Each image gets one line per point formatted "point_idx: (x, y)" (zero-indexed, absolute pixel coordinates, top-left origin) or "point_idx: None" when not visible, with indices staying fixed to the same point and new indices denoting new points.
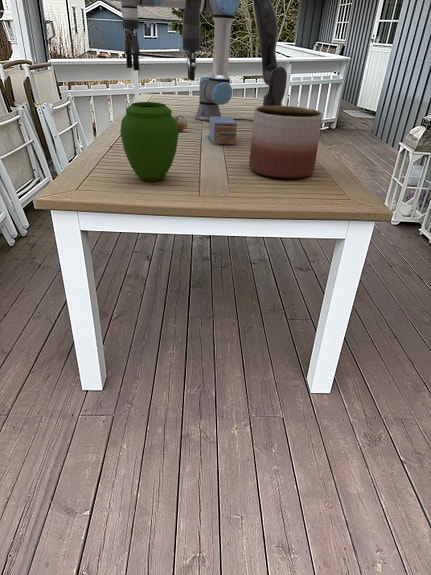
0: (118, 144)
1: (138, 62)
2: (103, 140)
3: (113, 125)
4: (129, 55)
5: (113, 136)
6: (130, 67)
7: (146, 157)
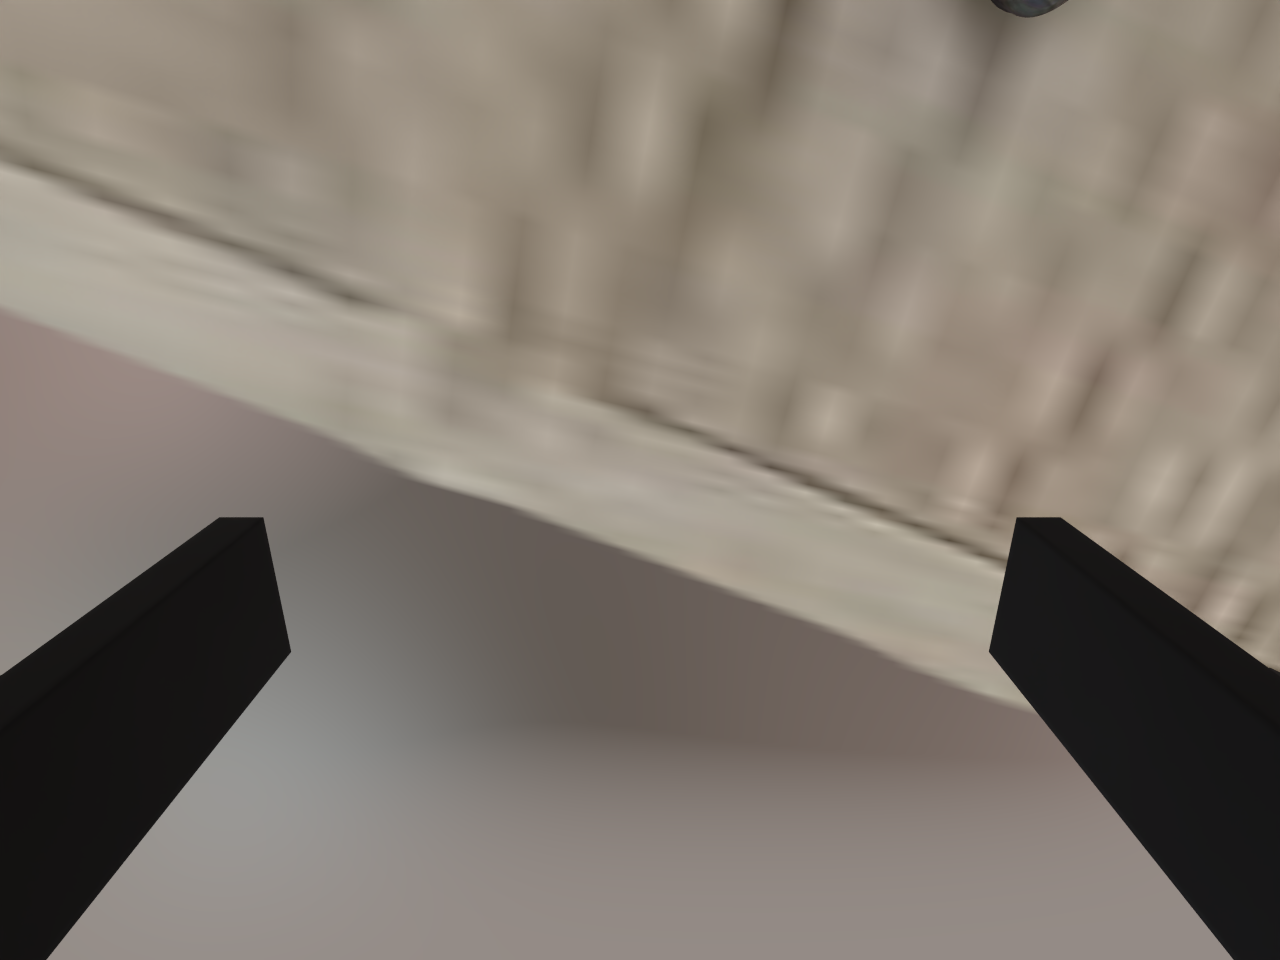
0: (1238, 625)
1: (1210, 645)
2: None
3: (566, 526)
4: (4, 846)
5: (983, 608)
6: (271, 576)
7: None
